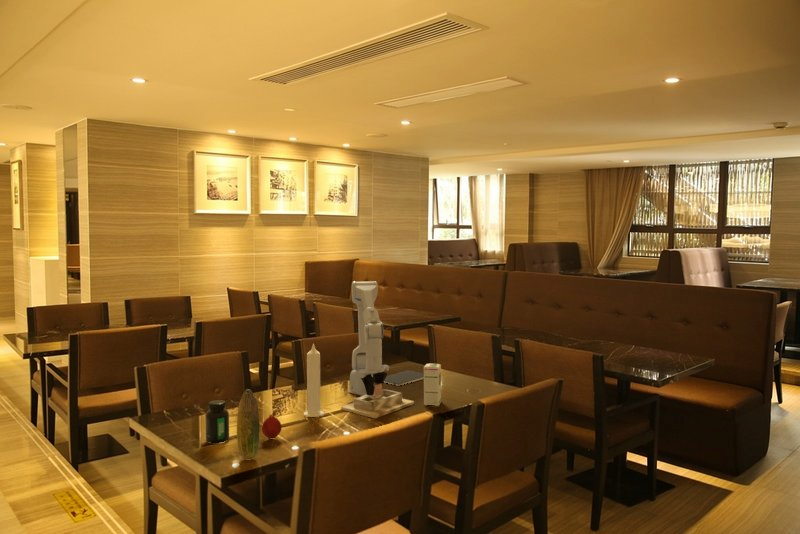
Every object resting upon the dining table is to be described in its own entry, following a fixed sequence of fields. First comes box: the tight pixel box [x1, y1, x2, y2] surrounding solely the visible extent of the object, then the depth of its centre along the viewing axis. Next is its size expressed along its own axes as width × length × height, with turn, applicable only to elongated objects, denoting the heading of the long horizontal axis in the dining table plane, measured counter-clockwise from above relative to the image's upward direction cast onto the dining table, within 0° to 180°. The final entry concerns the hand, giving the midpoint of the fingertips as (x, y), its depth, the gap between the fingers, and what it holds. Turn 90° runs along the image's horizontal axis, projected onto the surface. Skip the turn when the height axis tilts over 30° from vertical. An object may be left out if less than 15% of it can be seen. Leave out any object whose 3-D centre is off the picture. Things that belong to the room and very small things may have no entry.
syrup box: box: [423, 363, 442, 407], centre depth 221 cm, size 6×6×14 cm
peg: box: [366, 382, 383, 401], centre depth 215 cm, size 5×5×8 cm
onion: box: [261, 413, 282, 439], centre depth 183 cm, size 6×6×8 cm
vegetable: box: [236, 388, 261, 460], centre depth 167 cm, size 6×6×20 cm
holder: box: [340, 388, 415, 419], centre depth 217 cm, size 22×16×4 cm
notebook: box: [383, 369, 424, 387], centre depth 258 cm, size 13×2×21 cm
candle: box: [303, 343, 325, 418], centre depth 207 cm, size 7×7×25 cm
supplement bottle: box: [204, 399, 230, 443], centre depth 182 cm, size 7×7×12 cm
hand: (373, 393), depth 215 cm, fingers closed on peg, 4 cm apart
